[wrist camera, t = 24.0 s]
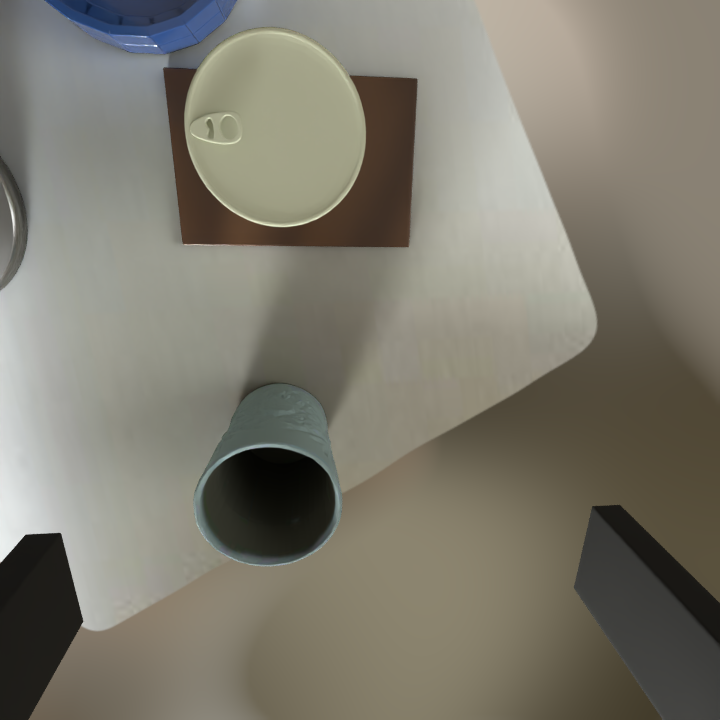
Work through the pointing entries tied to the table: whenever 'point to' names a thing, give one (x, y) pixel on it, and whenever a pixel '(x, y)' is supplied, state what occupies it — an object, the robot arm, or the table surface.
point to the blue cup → (271, 481)
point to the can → (275, 127)
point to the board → (346, 220)
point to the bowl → (146, 21)
